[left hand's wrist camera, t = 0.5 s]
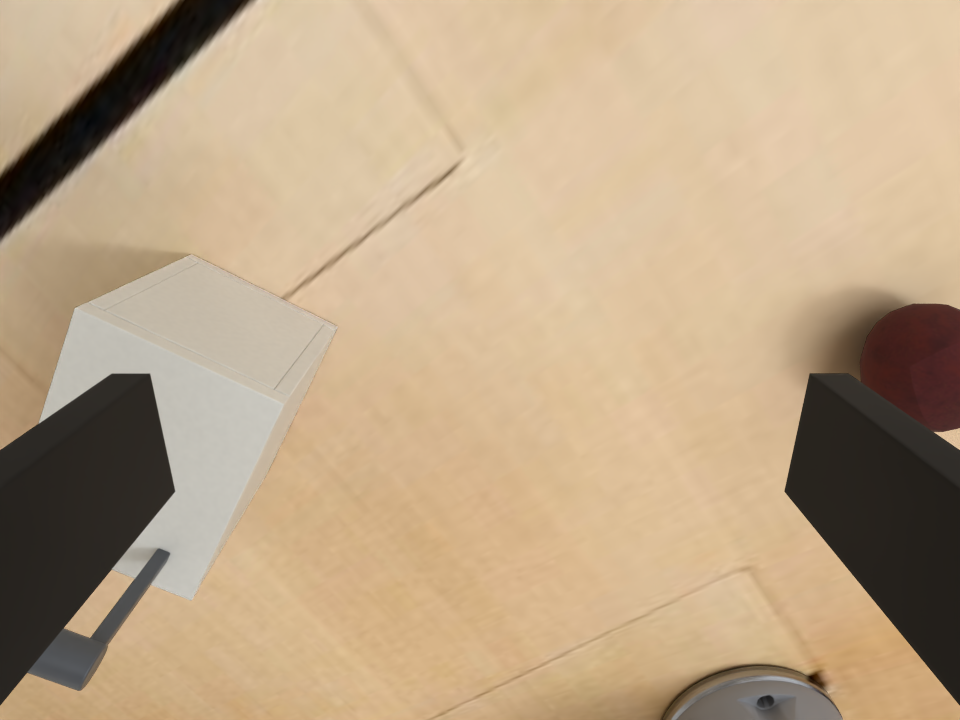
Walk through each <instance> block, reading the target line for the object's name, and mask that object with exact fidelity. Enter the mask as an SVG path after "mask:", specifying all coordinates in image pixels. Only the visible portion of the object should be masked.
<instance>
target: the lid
mask: <svg viewBox="0 0 960 720" xmlns="http://www.w3.org/2000/svg"><path fill="white" fill-rule="evenodd" d="M112 373H150V375H151V380H152V384H153V389H154V394H155V398H156V403H157V408H158V412H159V417H160V422H161V426H162V431H163V436H164V440H165V445H166V450H167V454H168V459H169V464H170V468H171V473H172V478H173V482H174V487H175V493H174V494H173V495H172V496H171V498H170V499H169V500H168V501H167V502H166V504H165V505H164V506H163V507H162V509H161V510H160V511H159V512H158V513H157V515H156V516H155V517H154V518H153V520H152V521H151V522H150V523H149V524H148V526H147V527H146V528H145V529H144V531H143V532H142V533H141V534H140V535H139V537H138V538H137V539H136V540H135V542H134V543H133V544H132V545H131V546H130V548H129V549H128V550H127V551H126V553H125V554H124V555H123V556H122V557H121V559H120V560H119V561H118V562H117V563H116V565H115V566H114V567H113V568H112V570H114V571H117V572H119V573H122V574H124V575H127V576H129V577H132V578H135V579H134V581H133V582H132V583H131V585H130V586H129V587H128V589H127V590H126V591H125V593H124V594H123V595H122V597H121V598H120V599H119V601H118V602H117V603H116V605H115V606H114V607H113V608H112V610H111V611H110V612H109V614H108V615H107V616H106V618H105V619H104V620H103V622H102V623H101V624H100V626H99V627H98V628H97V630H96V631H95V632H94V634H93V635H92V636H91V638H88V637H86V636H83V635H80V634H77V633H75V632H72V631H69V630H67V629H64V628H63V629H62V631H61V632H60V633H59V634H58V635H57V637H56V638H55V639H54V640H53V642H52V643H51V644H50V645H49V646H48V648H47V649H46V650H45V651H44V653H43V654H42V655H41V656H40V657H39V659H38V660H37V661H36V662H35V664H34V665H33V666H32V667H31V668H30V670H29V671H28V672H27V673H30V674H32V675H35V676H38V677H41V678H44V679H47V680H49V681H52V682H55V683H58V684H61V685H64V686H66V687H69V688H72V689H75V690H78V691H81V690H82V689H83V688H84V687H85V686H86V685H87V683H88V682H89V681H90V679H91V678H92V676H93V675H94V673H95V671H96V670H97V668H98V666H99V665H100V663H101V661H102V659H103V657H104V655H105V653H106V651H107V647H108V646H107V645H108V644H109V643H110V641H111V640H112V638H113V637H114V636H115V634H116V633H117V631H118V630H119V629H120V627H121V626H122V624H123V623H124V622H125V620H126V619H127V617H128V616H129V615H130V613H131V612H132V610H133V609H134V607H135V606H136V605H137V603H138V602H139V600H140V599H141V598H142V596H143V595H144V593H145V592H146V591H147V589H148V588H149V586H150V585H152V586H155V587H158V588H160V589H163V590H165V591H168V592H170V593H173V594H175V595H178V596H180V597H183V598H186V599H188V600H192V599H193V598H194V596H195V594H196V593H197V591H198V589H199V587H200V585H201V583H202V581H203V579H204V577H205V575H206V572H207V570H208V568H209V566H210V564H211V562H212V560H213V558H214V556H215V553H216V551H217V549H218V547H219V545H220V543H221V541H222V539H223V537H224V534H225V532H226V530H227V528H228V526H229V524H230V522H231V520H232V518H233V515H234V513H235V511H236V509H237V507H238V505H239V503H240V501H241V499H242V496H243V494H244V492H245V490H246V488H247V486H248V484H249V482H250V480H251V477H252V475H253V473H254V471H255V469H256V467H257V465H258V463H259V461H260V458H261V456H262V454H263V452H264V450H265V448H266V446H267V444H268V442H269V439H270V437H271V435H272V433H273V431H274V429H275V427H276V425H277V423H278V420H279V418H280V416H281V414H282V412H283V410H284V408H285V406H286V403H287V401H288V399H289V397H288V396H286V395H284V394H282V393H280V392H277V391H275V390H273V389H271V388H269V387H267V386H265V385H262V384H260V383H258V382H256V381H254V380H252V379H250V378H247V377H245V376H243V375H241V374H239V373H237V372H235V371H232V370H230V369H228V368H226V367H224V366H222V365H220V364H217V363H215V362H213V361H211V360H209V359H207V358H205V357H202V356H200V355H198V354H196V353H194V352H192V351H190V350H187V349H185V348H183V347H181V346H179V345H177V344H174V343H172V342H170V341H168V340H166V339H164V338H162V337H159V336H157V335H155V334H153V333H151V332H149V331H147V330H144V329H142V328H140V327H138V326H136V325H134V324H132V323H129V322H127V321H125V320H123V319H121V318H119V317H117V316H114V315H112V314H110V313H108V312H106V311H104V310H102V309H99V308H97V307H95V306H93V305H91V304H89V303H84V304H82V305H80V306H78V307H75V309H74V312H73V315H72V318H71V322H70V325H69V328H68V331H67V334H66V338H65V341H64V344H63V347H62V350H61V354H60V357H59V360H58V363H57V366H56V369H55V373H54V376H53V379H52V382H51V385H50V389H49V392H48V395H47V398H46V401H45V405H44V408H43V411H42V414H41V417H40V420H39V423H41V422H42V421H43V420H45V419H46V418H48V417H49V416H51V415H52V414H54V413H55V412H57V411H58V410H59V409H61V408H62V407H64V406H65V405H67V404H68V403H70V402H71V401H72V400H74V399H75V398H77V397H78V396H80V395H81V394H83V393H84V392H86V391H87V390H88V389H90V388H91V387H93V386H94V385H96V384H97V383H99V382H100V381H102V380H103V379H104V378H106V377H107V376H109V375H110V374H112Z"/></svg>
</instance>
